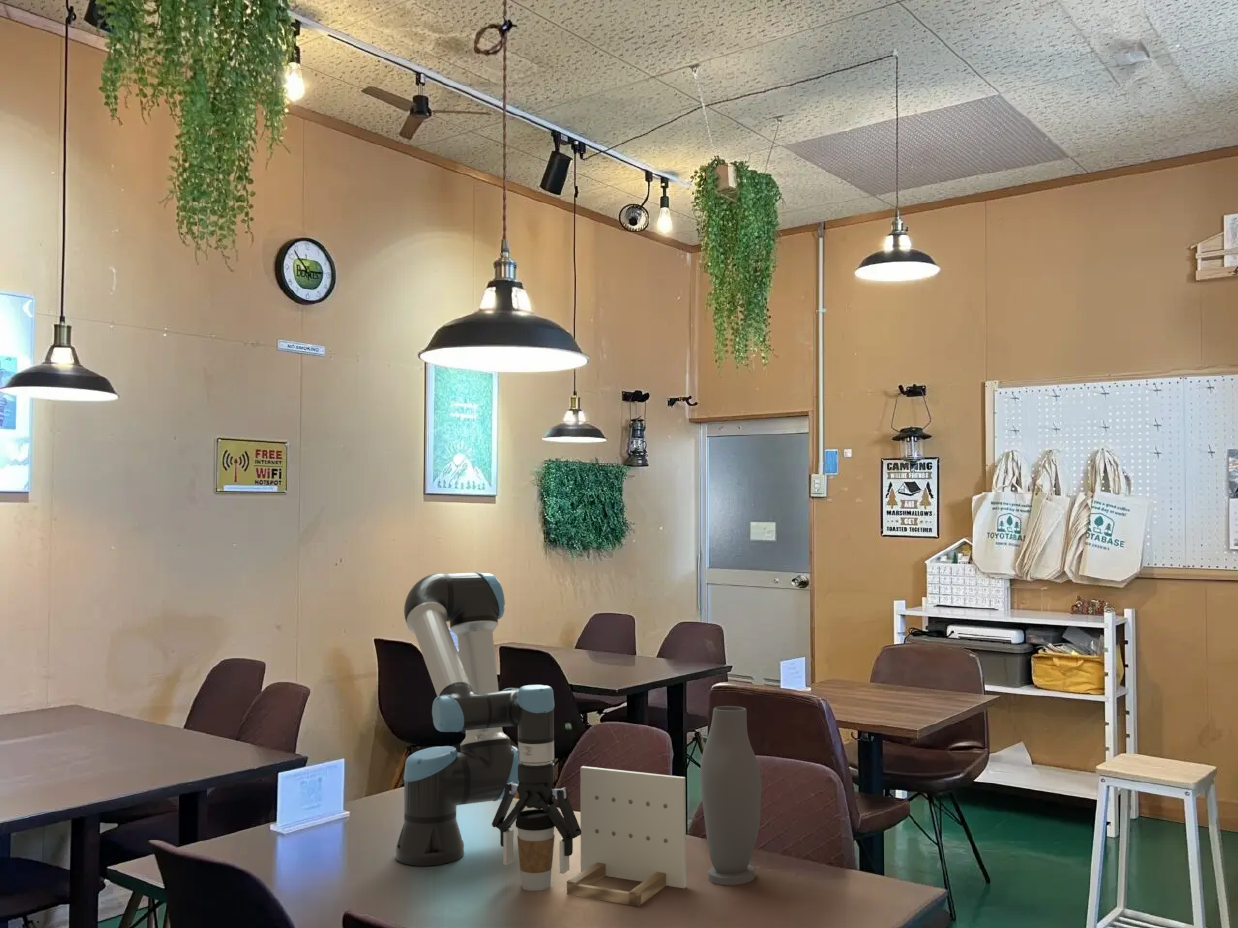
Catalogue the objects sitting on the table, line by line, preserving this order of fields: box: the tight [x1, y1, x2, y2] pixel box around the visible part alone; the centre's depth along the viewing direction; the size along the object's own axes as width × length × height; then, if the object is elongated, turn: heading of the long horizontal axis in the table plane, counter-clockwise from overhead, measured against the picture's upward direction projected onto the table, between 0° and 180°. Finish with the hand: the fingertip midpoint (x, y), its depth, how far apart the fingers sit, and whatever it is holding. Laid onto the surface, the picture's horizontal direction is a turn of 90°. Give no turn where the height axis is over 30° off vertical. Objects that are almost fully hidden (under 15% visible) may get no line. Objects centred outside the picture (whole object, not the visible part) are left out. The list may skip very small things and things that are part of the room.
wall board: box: [579, 765, 687, 889], centre depth 215 cm, size 24×1×22 cm, turn 64°
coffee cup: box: [515, 808, 556, 892], centre depth 211 cm, size 8×8×15 cm
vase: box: [699, 705, 762, 886], centre depth 217 cm, size 13×13×35 cm
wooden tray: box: [566, 863, 667, 907], centre depth 208 cm, size 16×13×2 cm
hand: (536, 867), depth 210 cm, fingers open, 13 cm apart
